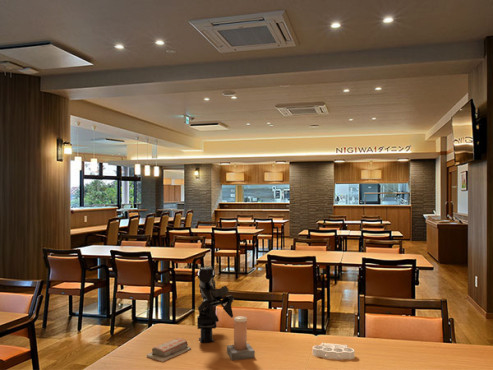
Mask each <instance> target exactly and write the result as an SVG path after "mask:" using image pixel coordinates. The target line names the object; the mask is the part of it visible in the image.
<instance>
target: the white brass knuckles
mask: <svg viewBox="0 0 493 370" xmlns="http://www.w3.org/2000/svg"><path fill="white" fill-rule="evenodd" d="M355 352H356V351H355V349H354V348H352V347H349V345H348V344H338V343H328V342H327V343H326V342H321V343H320V344H315V345H313V346H312V356H314V357H321V358H323V359H327V360H328V359H329V360H336V361H337V360H339V361H340V360H341V361H342V360H354V359H355V357H356V355H355Z"/></svg>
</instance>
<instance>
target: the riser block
mask: <svg viewBox="0 0 493 370" xmlns="http://www.w3.org/2000/svg"><path fill="white" fill-rule="evenodd" d="M226 353H227V355H228V357H229V358H230V359H231V361H239V360H247V359H248V360H249V359H255V354H256V353H255V349H254V348H253V347H252V346H251V344H250V343H249V342H247V348H246V349H245V350H236V349H234V344H228V345H226Z"/></svg>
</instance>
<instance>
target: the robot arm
mask: <svg viewBox="0 0 493 370" xmlns="http://www.w3.org/2000/svg"><path fill="white" fill-rule="evenodd" d="M215 277H216V271H215V269H214V268H213V267H212V266H211V267H200V268H199V269H198V272H197V279H199V280H198V281H199V284H198V287H199V294H200V297H201V298H202V299H203V300H202V302H201V303H200V305H199V306H198V307H197V311H198V315H197V318H196V319H197V324H196V325H197V330H200V337H198V339H199V340H198V341H199V342H200V343H201V344H204V343H213V342H215V339H214V338H213V329H216V328H217V323H218V322H219V321H220V320H219V317H218V315H217V313H216V312H215V310H214V307H217V306H221V307H223V308H222V309H223V310H224V312H225V313H226V314H227V315H228V317H230V318H234V313H233V309H232V308H233V307H232V303H233V302H234V300H235V298H234V296H233V295H232V294H229V295H228V293H229V288H228V286H227V285H223V286H221V287H220V288H217V287H216V285H217V284H216V280H215V279H214V278H215ZM223 296H224V297H223Z"/></svg>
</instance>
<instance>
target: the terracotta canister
mask: <svg viewBox="0 0 493 370" xmlns="http://www.w3.org/2000/svg"><path fill="white" fill-rule="evenodd" d="M247 322H248V317H246V316H241V315H239V316H235V317H234V316H233V345H234V349H236V350H245V349H246V348H247V343H248V342H247V341H248V339H247V338H248V329H247V328H248V323H247Z"/></svg>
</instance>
